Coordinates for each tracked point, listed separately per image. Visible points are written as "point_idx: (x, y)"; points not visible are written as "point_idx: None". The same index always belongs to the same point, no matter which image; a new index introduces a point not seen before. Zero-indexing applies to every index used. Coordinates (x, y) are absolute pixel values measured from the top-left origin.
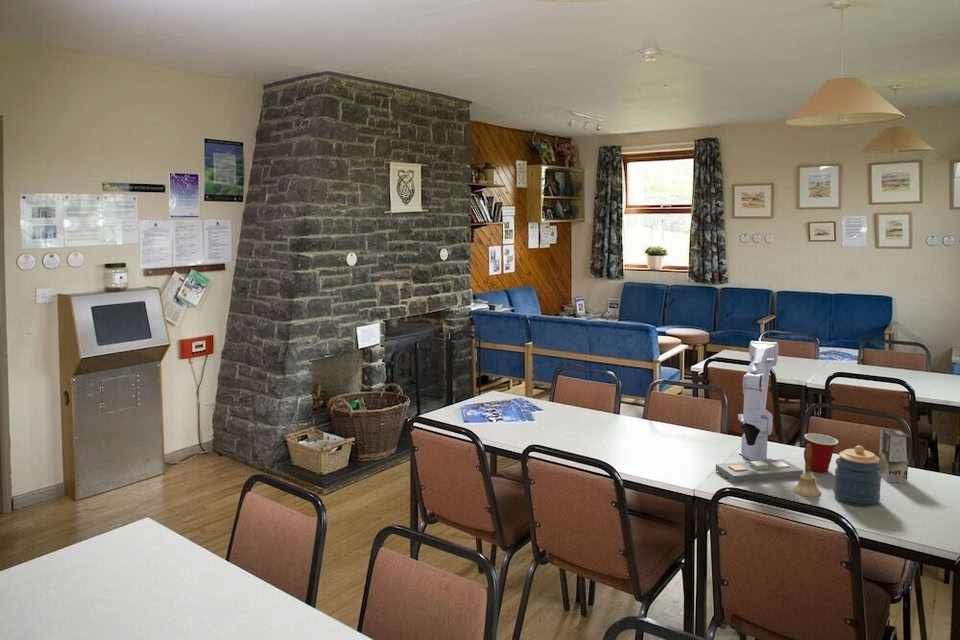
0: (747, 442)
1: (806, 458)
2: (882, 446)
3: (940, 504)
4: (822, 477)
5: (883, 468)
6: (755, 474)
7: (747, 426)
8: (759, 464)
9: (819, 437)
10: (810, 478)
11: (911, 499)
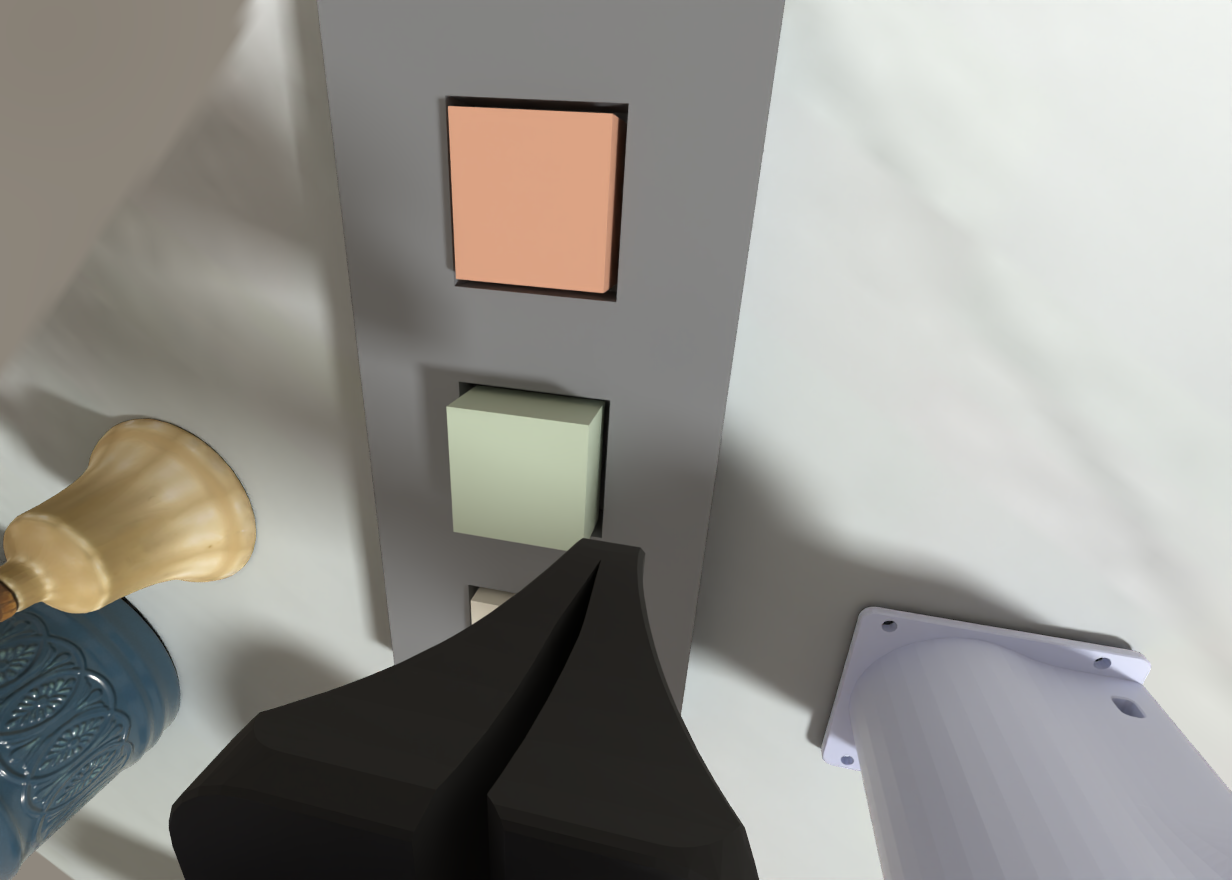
0: (610, 559)
1: None
2: None
3: (78, 862)
4: None
5: None
6: (351, 289)
7: (330, 863)
8: (473, 454)
9: None
10: (4, 549)
11: (117, 830)
